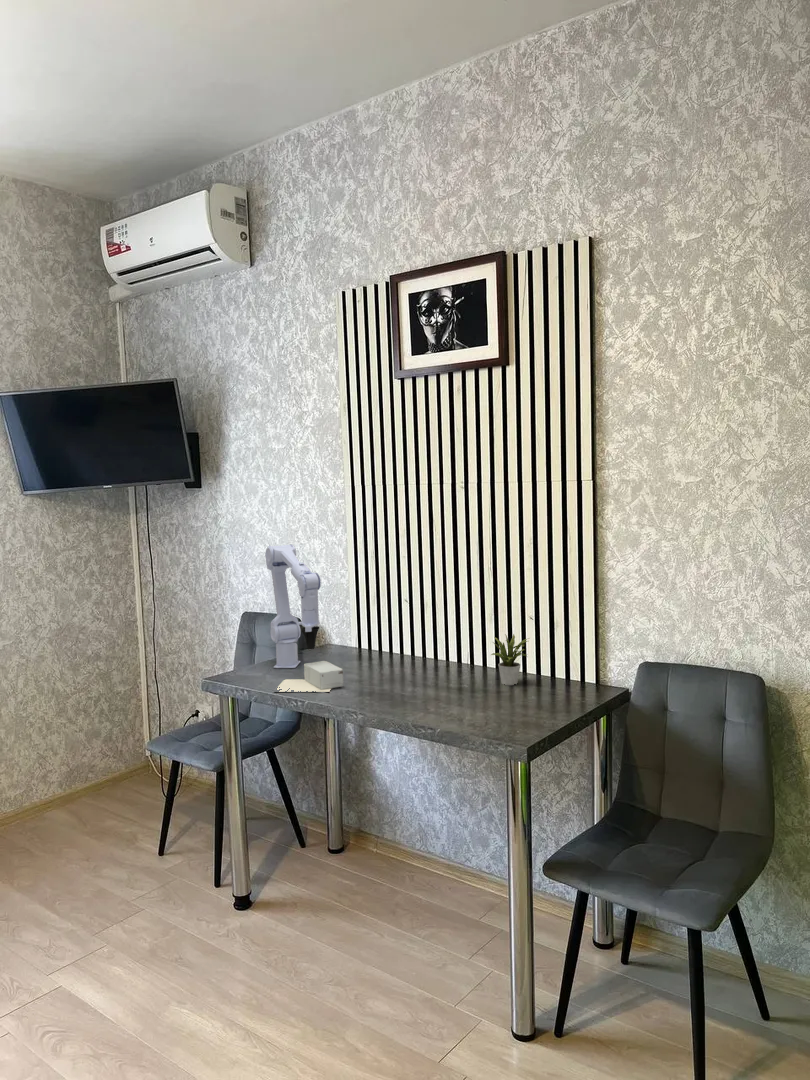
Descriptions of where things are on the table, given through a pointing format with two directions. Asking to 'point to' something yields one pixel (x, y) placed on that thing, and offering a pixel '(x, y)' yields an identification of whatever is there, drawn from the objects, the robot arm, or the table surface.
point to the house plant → (509, 661)
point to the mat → (299, 686)
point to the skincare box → (323, 674)
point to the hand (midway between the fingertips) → (311, 648)
